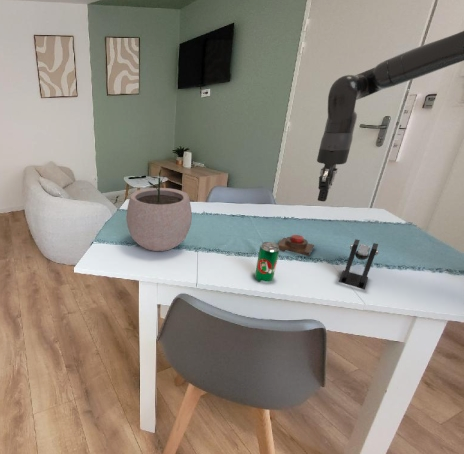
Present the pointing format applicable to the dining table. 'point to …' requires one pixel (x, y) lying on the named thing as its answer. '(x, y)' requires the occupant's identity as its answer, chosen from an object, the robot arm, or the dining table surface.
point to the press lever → (362, 252)
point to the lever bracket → (358, 279)
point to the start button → (297, 238)
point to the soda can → (266, 261)
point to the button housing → (295, 246)
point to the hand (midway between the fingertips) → (321, 200)
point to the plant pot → (159, 217)
